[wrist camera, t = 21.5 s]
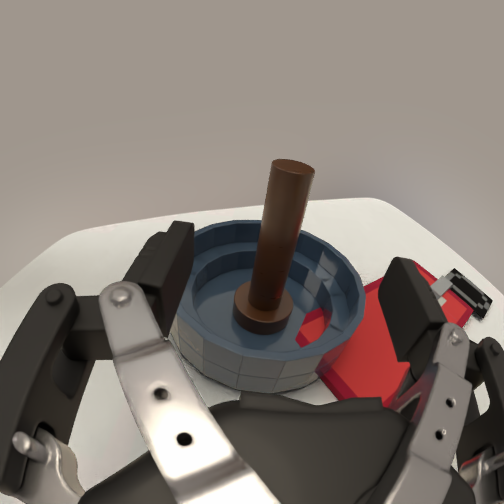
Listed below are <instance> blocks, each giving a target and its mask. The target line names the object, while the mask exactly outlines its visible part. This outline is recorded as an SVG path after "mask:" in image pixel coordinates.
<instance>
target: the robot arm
mask: <svg viewBox="0 0 504 504" xmlns="http://www.w3.org/2000/svg"><path fill="white" fill-rule="evenodd" d="M193 262H194V223H190V222H182V221H173V223H172V224H171V226H170V227H169V229H168V231H167V232H160V231H159V232H158V233H156V234H154V235H153V236H151V237H150V238H149V239H148V240H147V242H146V243H145V245H144V246H143V248H142V250H141V251H140V253H139V256H137V257H136V259H135V260H134V262H133V264H132V265H131V267H130V268H129V270H128V272H127V273H126V275H125V276H124V278H123V280H122V281H120V282H115V283H112V284H110V285H109V286H107V287H106V288H105V289H103V291H102V292H101V294H100V295H97V296H76V295H75V292H74V290H73V288H72V287H71V286H69V285H68V284H64V283H57V284H53V285H50V286H48V287H47V288H45V289H44V290H43V291H42V292H41V293H40V294H39V296H38V297H37V299H36V300H35V302H34V303H33V305H32V306H31V308H30V310H29V311H28V313H27V314H26V316H25V318H24V319H23V321H22V323H21V324H20V326H19V328H18V329H17V331H16V333H15V335H14V336H13V338H12V340H11V342H10V344H9V345H8V347H7V349H6V351H5V353H4V355H3V357H2V359H1V361H0V492H1V493H3V494H5V495H8V496H11V497H14V498H18V499H19V500H21V501H22V502H24V503H25V504H502V503H504V351H503V349H502V347H501V345H500V344H499V343H498V342H497V341H496V340H495V339H493V338H491V337H486V338H485V339H484V340H483V341H482V342H481V343H480V344H479V345H477V344H474V343H471V342H469V338H468V336H467V334H466V332H465V331H464V330H463V329H462V328H461V327H460V326H458V325H457V324H455V323H451V322H448V320H447V318H446V316H445V314H444V312H443V310H442V308H441V306H440V304H439V302H438V300H437V299H436V296H435V294H434V292H432V288H431V287H430V285H429V283H428V281H427V280H426V279H425V278H424V277H423V276H422V275H421V274H420V272H419V270H418V269H417V267H416V265H415V263H414V262H413V260H411V259H407V258H401V257H395V258H393V260H392V261H391V263H390V265H389V267H388V269H387V271H386V273H385V275H384V277H383V279H382V281H381V283H380V285H379V289H378V300H379V303H380V306H381V309H382V312H383V315H384V318H385V321H386V324H387V327H388V331H389V334H390V337H391V340H392V344H393V347H394V351H395V354H396V358H397V361H398V362H409V363H410V366H409V367H408V368H407V369H406V371H405V373H404V375H403V377H402V379H401V382H400V384H399V386H398V388H397V390H396V392H395V394H394V396H393V398H392V400H391V402H390V404H389V405H388V407H384V406H383V403H382V398H381V397H351V398H348V399H344V400H340V401H336V402H332V403H328V404H324V405H312V404H308V403H305V402H301V401H298V400H295V399H291V398H288V397H285V396H281V395H275V394H265V393H255V392H247V391H241V395H240V399H239V400H235V401H228V402H223V403H220V404H217V405H214V406H211V407H209V408H207V406H206V404H205V403H204V401H203V399H202V398H201V396H200V394H199V393H198V391H197V389H196V387H195V386H194V384H193V382H192V380H191V379H190V377H189V375H188V373H187V371H186V370H185V368H184V366H183V364H182V362H181V360H180V359H179V357H178V355H177V353H176V351H175V349H174V347H173V345H172V344H171V342H170V341H169V340H165V338H164V337H167V338H168V335H169V332H170V329H171V327H172V324H173V321H174V318H175V315H176V312H177V310H178V307H179V304H180V301H181V299H182V296H183V293H184V290H185V288H186V285H187V282H188V280H189V277H190V274H191V271H192V267H193ZM96 360H113V363H114V366H115V369H116V372H117V375H118V378H119V381H120V383H121V386H122V389H123V391H124V394H125V397H126V399H127V402H128V404H129V407H130V409H131V412H132V414H133V416H134V419H135V421H136V423H137V426H138V428H139V430H140V432H141V434H142V437H143V439H144V441H145V443H146V445H147V447H148V449H149V451H147V452H146V453H144V454H143V455H141V456H140V457H139V458H137V459H136V460H134V461H133V462H131V463H130V464H128V465H127V466H125V467H124V468H122V469H121V470H119V471H118V472H116V473H115V474H113V475H112V476H110V477H108V478H107V479H105V480H104V481H102V482H100V483H99V484H97V485H95V486H94V487H92V488H90V489H89V490H88V491H86V492H85V490H84V489H83V488H82V486H81V485H80V483H79V480H78V475H77V469H78V465H77V459H76V457H75V454H74V453H73V451H72V450H71V449H70V448H69V447H68V442H69V439H70V435H71V432H72V428H73V425H74V421H75V418H76V415H77V412H78V409H79V406H80V402H81V399H82V396H83V394H84V391H85V388H86V385H87V382H88V379H89V377H90V374H91V371H92V368H93V366H94V363H95V361H96ZM483 382H485V385H486V388H487V392H488V395H489V399H490V405H489V408H488V410H487V411H486V412H485V413H484V414H482V415H481V416H480V413H479V409H478V405H477V401H476V398H475V394H474V390H475V389H476V388H477V387H478V386H479V385H481V384H482V383H483ZM455 452H456V457H457V465H458V472H457V471H456V470H455V469H454V468H453V467H452V466H451V464H452V461H453V458H454V455H455Z"/></svg>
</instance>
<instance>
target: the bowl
mask: <svg viewBox="0 0 504 504" xmlns="http://www.w3.org/2000/svg"><path fill="white" fill-rule="evenodd" d="M261 222H262V220H232V221H227V222H221V223H216V224H212V225H209V226H206V227H204V228H202V229H199V230H197V231H195V232H194V262H193V267H192V271H191V274H190V277H189V280H188V282H187V285H186V288H185V290H184V293H183V296H182V299H181V301H180V304H179V307H178V310H177V312H176V315H175V318H174V321H173V324H172V327H171V329H170V332H171V334H172V336H173V338H174V340H175V342H176V344H177V346H178V349H179V351H180V352H181V354H182V355H183V356H184V357H185V358H186V359H187V360H188V361H190V362H191V363H192V364H193V365H194V366H195V367H196V368H197V369H198V370H199V371H200V372H201V373H202V374H204V375H206V376H208V377H210V378H212V379H214V380H216V381H218V382H221V383H223V384H225V385H227V386H229V387H232V388H234V389H237V390H244V391H252V392H261V393H276V392H282V391H287V390H292V389H296V388H301V387H304V386H306V385H308V384H310V383H311V382H313V381H314V380H316V379H318V378H319V377H321V376H323V375H324V374H326V373H327V372H328V371H329V370H330V369H331V367H332V366H333V365H334V363H335V362H336V361H337V359H338V358H339V356H340V355H341V354H342V352H343V351H344V349H345V347H346V346H347V344H348V343H349V341H350V340H351V338H352V336H353V335H354V333H355V332H356V330H357V328H358V327H359V325H360V323H361V322H362V320H363V318H364V311H365V302H366V294H365V290H364V287H363V284H362V281H361V278H360V275H359V274H358V273H357V271H356V270H355V269H354V267H353V266H352V264H351V263H350V262H349V260H348V259H347V258H346V257H345V256H344V255H342V254H341V253H340V252H339V251H338V250H336V249H335V248H334V247H333V246H331V245H330V244H329V243H327V242H325V241H323V240H322V239H320V238H318V237H316V236H314V235H312V234H310V233H308V232H306V231H303V230H300V234H299V237H298V241H297V245H296V249H295V252H294V256H293V260H292V263H291V267H290V270H289V274H288V277H287V281H286V284H285V289H286V290H287V291H288V292H289V294H290V295H291V297H292V300H293V310H292V313H291V315H290V318H289V321H288V323H287V325H286V326H285V327H284V328H283V329H282V330H281V331H279V332H277V333H274V334H269V335H259V334H255V333H251V332H249V331H247V330H245V329H244V328H242V327H241V326H240V325H239V324H238V323H237V322H236V320H235V318H234V316H233V302H234V295H235V292H236V290H237V289H238V288H239V287H240V286H241V285H242V284H244V283H246V282H248V281H251V278H252V273H253V267H254V262H255V256H256V250H257V245H258V239H259V233H260V228H261ZM318 308H321V309H322V311H323V317H324V324H325V328H324V331H323V333H322V335H321V336H320V337H319V338H318V339H317V340H315V341H314V342H312V343H310V344H308V345H306V346H304V347H302V348H301V347H300V346H299V344H298V343H297V342H296V341H295V338H296V336H297V334H298V332H299V330H300V327H301V325H302V323H303V320H304V318H305V316H306V314H307V313H309V312H311V311H313V310H316V309H318Z"/></svg>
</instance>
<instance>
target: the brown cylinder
mask: <svg viewBox="0 0 504 504" xmlns="http://www.w3.org/2000/svg"><path fill="white" fill-rule="evenodd" d="M314 174H315V170H314V169H313V168H312V167H311V166H309V165H307V164H305V163H302V162H298V161H294V160H288V159H277V160H274V161H273V162H272V165H271V171H270V177H269V182H268V188H267V194H266V199H265V205H264V211H263V216H262V222H261V228H260V233H259V239H258V245H257V250H256V256H255V262H254V267H253V273H252V278H251V281H248V282H246V283H244V284H242V285H241V286H240V287H239V288H238V289H237V290H236V292H235V295H234V302H233V316H234V318H235V320H236V322H237V323H238V324H239V325H240V326H241V327H242V328H244V329H245V330H247V331H249V332H251V333H255V334H259V335H269V334H274V333H277V332H279V331H281V330H282V329H283V328H284V327H285V326H286V325H287V323H288V321H289V318H290V315H291V313H292V310H293V300H292V297H291V295H290V294H289V292H288V291H287V290H286V289H285V284H286V281H287V277H288V274H289V270H290V267H291V263H292V260H293V256H294V252H295V249H296V245H297V241H298V237H299V234H300V230H301V226H302V222H303V218H304V214H305V210H306V206H307V203H308V199H309V194H310V190H311V186H312V182H313V178H314Z"/></svg>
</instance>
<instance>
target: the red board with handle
mask: <svg viewBox="0 0 504 504" xmlns="http://www.w3.org/2000/svg"><path fill="white" fill-rule="evenodd" d="M413 262H414V263H415V265H416V267H417V269H418V270H419V272H420V274H421V275H422V276H423V277H424V278H425V279H426V280H427V281H428V283H429V285H430V287H431V288H432V292H434V294H435V296H436V299H437V300H438V302H439V304H440V306H441V308H442V310H443V312H444V314H445V316H446V318H447V320H448V322H451V323H455V324H457V325H458V326H460V327H461V328H462V327H463V326H464V324H465V323H466V322H467V320H468V319H469V317H470V316H471V314H472V313H473V311H475V312H476V313H477V314H479V315H480V316H481V317H482V318H484V316H485V315H486V313H487V311H488V309H489V307H490V305H491V303H492V301H493V300H492V299H490V298H489V297H488V296H487V295H486V294H485V293H484V292H482V291H481V290H480V289H479V288H478V287H477V286H475V285H474V284H473V283H472V282H471V281H470V280H468V279H467V278H466V277H465V276H463V275H462V274H461V273H460V272H459V271H457V270H456V269H455V268H454V269H453V270H452V271H451V272H450V273H448V274H447V275H446V276H445V277H444V276H442V277H441V278H439V279H437V278H435V277H434V276H433V275H432V274H430V273H429V272H428V271H427V270H425V269H424V268H423V267H422V266H420V265H419V264H418V263H416V262H415V261H414V260H413ZM382 279H383V277H382V278H380V279H378V280H376V281H374V282H372V283H370V284H368V285H366V286H364V290H365V294H366V302H365V311H364V318H363V320H362V322H361V323H360V325H359V327H358V328H357V330H356V332H355V333H354V335H353V336H352V338H351V340H350V341H349V343H348V344H347V346H346V347H345V349H344V351H343V352H342V354H341V355H340V356H339V358H338V359H337V361H336V362H335V363H334V365H333V366H332V367H331V369H330V370H329V371H328V372H327V373H326V374H324V375H323V376H321V377H320V378H321V380H322V381H323V382H324V383H325V384H326V386H327V387H328V388H329V389H330V390H331V392H332V393H333V394H334V395H335V396H336V398H337V399H338V400H339V401H340V400H344V399H348V398H351V397H381V398H382V403H383V406H384V407H388V405H389V404H390V402H391V400H392V398H393V396H394V394H395V392H396V390H397V388H398V386H399V384H400V382H401V379H402V377H403V375H404V373H405V371H406V369H407V368H408V367H409V366H410V363H409V362H398V361H397V358H396V354H395V351H394V347H393V344H392V340H391V337H390V334H389V331H388V327H387V324H386V321H385V318H384V315H383V312H382V309H381V306H380V303H379V300H378V289H379V285H380V283H381V281H382ZM453 292H454V293H453ZM460 298H461V299H460ZM468 305H469V306H468ZM324 328H325V324H324V317H323V311H322V309H321V308H318V309H316V310H313V311H311V312H309V313H307V314H306V316H305V318H304V320H303V323H302V325H301V327H300V330H299V332H298V334H297V336H296V338H295V341H296V342H297V343H298V344H299V346H300V347H301V348H302V347H304V346H306V345H308V344H310V343H312V342H314V341H315V340H317V339H318V338H319V337H320V336H321V335H322V333H323V331H324ZM483 340H484V339H482V340H481V341H480V343H481V342H482V341H483ZM469 342H471V343H474V344H477V343H475V342H473V341H471V340H469ZM480 343H479V344H480ZM479 344H477V345H479Z"/></svg>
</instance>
